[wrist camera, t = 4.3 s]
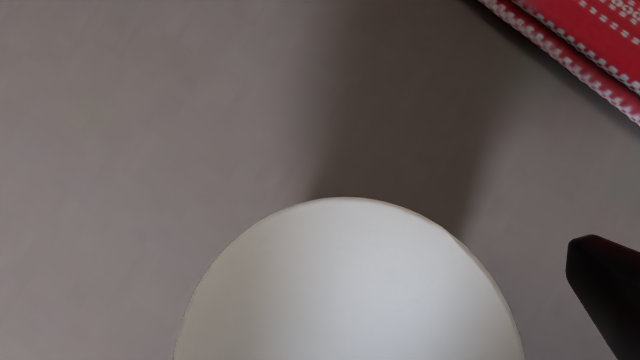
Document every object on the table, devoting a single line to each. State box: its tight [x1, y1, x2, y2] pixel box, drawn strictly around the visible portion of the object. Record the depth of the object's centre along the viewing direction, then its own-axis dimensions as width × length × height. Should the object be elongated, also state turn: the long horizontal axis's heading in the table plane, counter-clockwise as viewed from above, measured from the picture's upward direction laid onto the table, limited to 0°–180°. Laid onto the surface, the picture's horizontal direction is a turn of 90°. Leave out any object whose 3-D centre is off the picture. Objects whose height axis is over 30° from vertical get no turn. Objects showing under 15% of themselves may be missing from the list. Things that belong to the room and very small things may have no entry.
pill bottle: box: [173, 197, 525, 360], centre depth 11 cm, size 6×6×10 cm
